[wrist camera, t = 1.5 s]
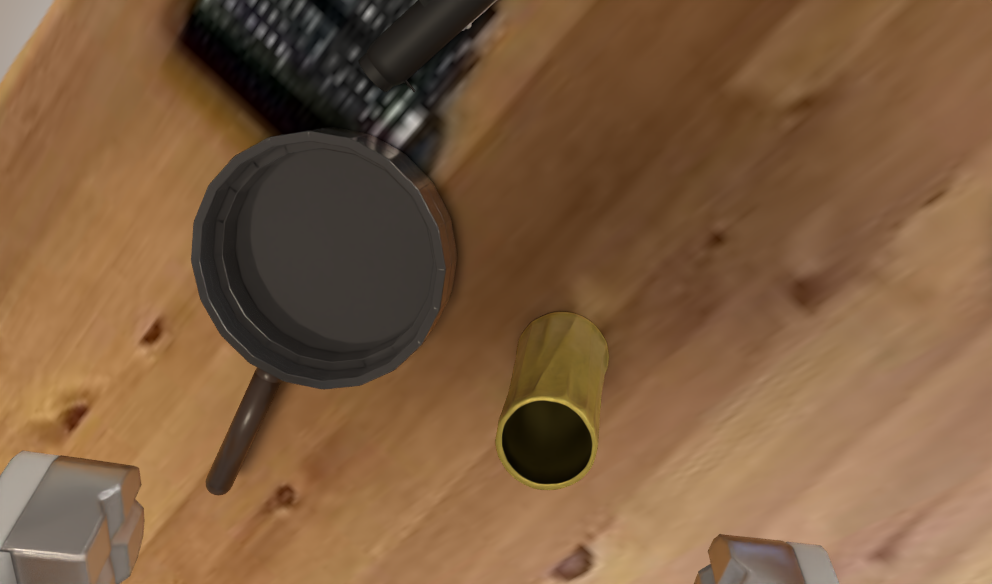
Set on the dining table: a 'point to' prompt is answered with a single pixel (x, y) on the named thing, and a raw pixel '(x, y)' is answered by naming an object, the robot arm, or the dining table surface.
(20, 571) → the robot arm
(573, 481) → the vase
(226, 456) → the pan handle
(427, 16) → the gun
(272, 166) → the pan
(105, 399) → the dining table surface
